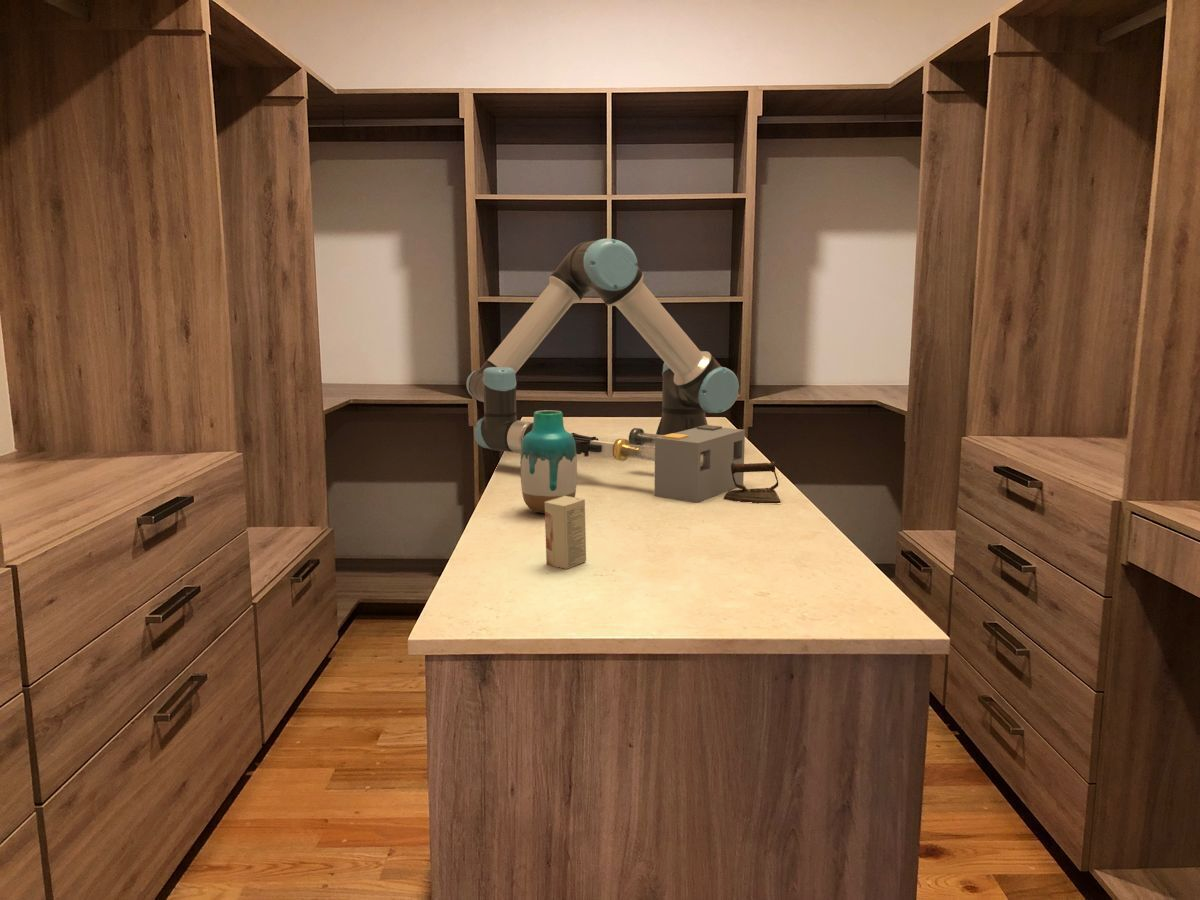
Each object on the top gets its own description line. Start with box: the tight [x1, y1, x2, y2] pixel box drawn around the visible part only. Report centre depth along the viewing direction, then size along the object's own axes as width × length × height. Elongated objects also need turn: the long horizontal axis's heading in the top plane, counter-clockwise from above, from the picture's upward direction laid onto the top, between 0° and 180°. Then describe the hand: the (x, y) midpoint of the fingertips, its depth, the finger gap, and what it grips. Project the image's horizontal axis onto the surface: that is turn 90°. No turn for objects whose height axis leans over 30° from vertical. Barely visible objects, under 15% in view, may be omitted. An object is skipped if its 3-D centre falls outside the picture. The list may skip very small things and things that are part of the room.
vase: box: [520, 409, 578, 514], centre depth 166 cm, size 11×11×19 cm
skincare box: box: [544, 496, 587, 570], centre depth 136 cm, size 5×4×10 cm
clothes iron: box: [723, 460, 782, 504], centre depth 177 cm, size 7×11×10 cm, turn 86°
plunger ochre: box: [612, 438, 706, 467], centre depth 183 cm, size 5×20×5 cm, turn 54°
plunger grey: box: [628, 427, 663, 447], centre depth 197 cm, size 5×20×5 cm, turn 54°
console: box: [653, 424, 746, 504], centre depth 185 cm, size 20×10×12 cm, turn 144°
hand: (616, 449), depth 188 cm, fingers closed
